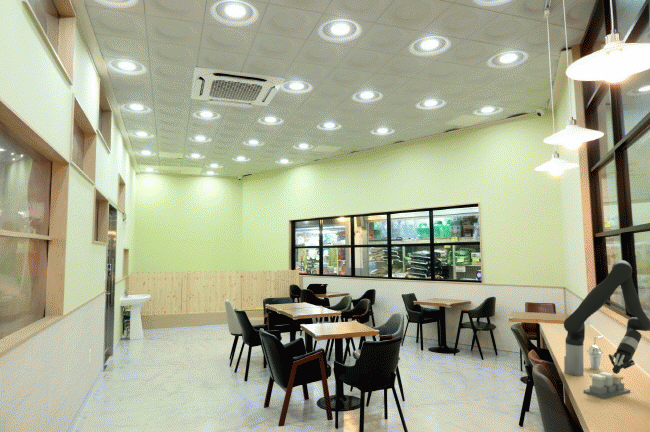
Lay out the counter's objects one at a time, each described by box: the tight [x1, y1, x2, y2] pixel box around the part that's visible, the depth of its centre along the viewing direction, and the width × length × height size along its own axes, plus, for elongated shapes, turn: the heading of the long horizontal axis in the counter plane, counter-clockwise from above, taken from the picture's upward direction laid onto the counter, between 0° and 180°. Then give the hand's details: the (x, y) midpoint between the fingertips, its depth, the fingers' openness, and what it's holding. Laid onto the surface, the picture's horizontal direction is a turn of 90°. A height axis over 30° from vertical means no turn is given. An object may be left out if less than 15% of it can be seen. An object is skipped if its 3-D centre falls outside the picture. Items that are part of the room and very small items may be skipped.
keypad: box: [583, 382, 631, 400], centre depth 225 cm, size 24×10×4 cm, turn 118°
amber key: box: [613, 374, 624, 384], centre depth 229 cm, size 5×5×6 cm
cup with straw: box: [586, 335, 605, 370], centre depth 271 cm, size 8×9×20 cm
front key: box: [589, 373, 606, 388], centre depth 222 cm, size 5×5×6 cm
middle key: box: [598, 371, 616, 386], centre depth 225 cm, size 5×5×6 cm
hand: (614, 372), depth 229 cm, fingers closed
